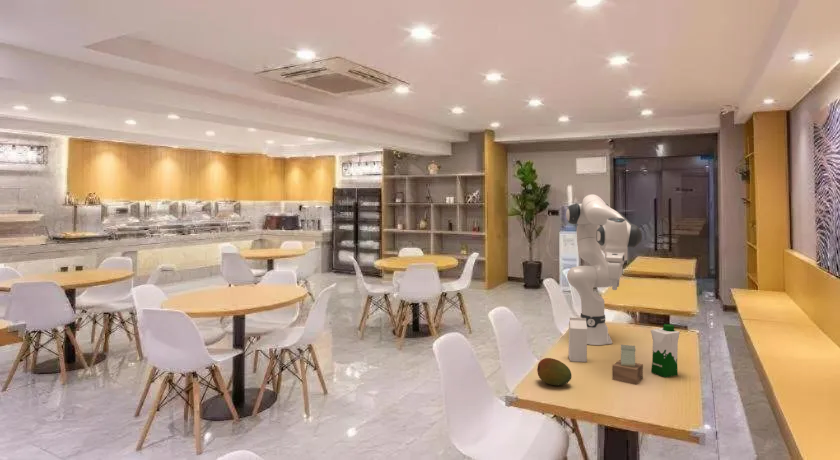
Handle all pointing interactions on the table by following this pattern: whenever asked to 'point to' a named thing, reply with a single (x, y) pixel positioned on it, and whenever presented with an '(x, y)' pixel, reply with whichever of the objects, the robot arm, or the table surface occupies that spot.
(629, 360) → the grey wooden block
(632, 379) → the walnut block
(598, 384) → the table surface
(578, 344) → the milk carton
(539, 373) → the fruit
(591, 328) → the robot arm
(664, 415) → the table surface
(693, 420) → the table surface
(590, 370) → the table surface
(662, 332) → the soya milk
